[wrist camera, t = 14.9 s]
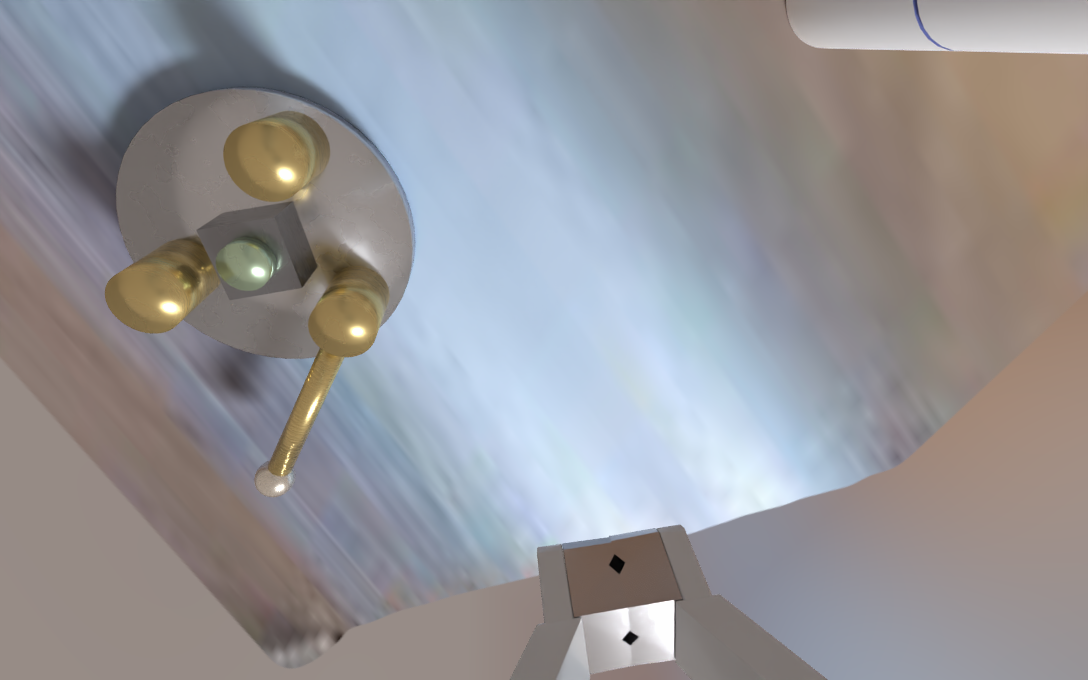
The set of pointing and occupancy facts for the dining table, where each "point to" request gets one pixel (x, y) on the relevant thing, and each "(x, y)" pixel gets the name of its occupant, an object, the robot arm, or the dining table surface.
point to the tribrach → (253, 218)
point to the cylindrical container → (943, 25)
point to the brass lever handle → (327, 362)
